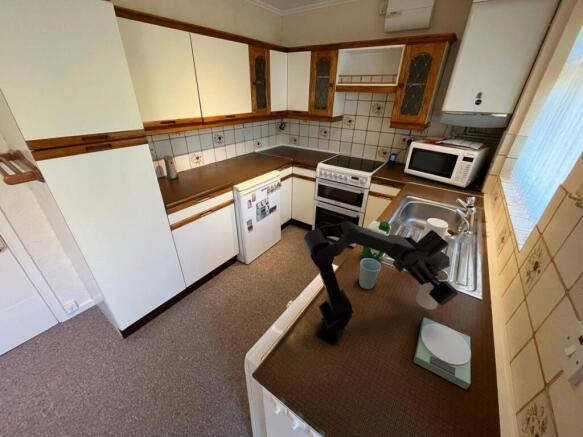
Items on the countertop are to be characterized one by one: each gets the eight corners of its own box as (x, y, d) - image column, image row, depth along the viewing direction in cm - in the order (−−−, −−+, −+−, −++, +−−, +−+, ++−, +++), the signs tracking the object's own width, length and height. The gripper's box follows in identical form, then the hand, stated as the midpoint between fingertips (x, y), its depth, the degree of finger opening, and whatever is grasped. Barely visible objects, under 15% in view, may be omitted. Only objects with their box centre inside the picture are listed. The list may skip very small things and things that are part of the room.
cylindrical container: (430, 279, 99) (451, 228, 87) (412, 276, 100) (430, 226, 88) (426, 268, 105) (444, 219, 93) (408, 266, 106) (424, 217, 94)
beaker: (435, 312, 77) (448, 284, 71) (413, 303, 81) (424, 275, 75) (438, 299, 82) (450, 272, 76) (417, 291, 85) (427, 264, 79)
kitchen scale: (466, 389, 63) (471, 382, 61) (413, 362, 69) (416, 355, 68) (466, 342, 75) (471, 335, 73) (421, 322, 81) (424, 315, 79)
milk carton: (377, 268, 105) (386, 230, 95) (358, 260, 110) (365, 222, 100) (384, 259, 111) (394, 221, 101) (366, 251, 116) (373, 215, 106)
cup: (378, 291, 93) (383, 271, 88) (358, 291, 93) (362, 270, 88) (373, 278, 99) (377, 258, 94) (354, 277, 100) (358, 257, 95)
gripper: (465, 268, 61) (482, 292, 69) (416, 230, 77) (434, 253, 85) (429, 295, 63) (450, 315, 71) (389, 253, 79) (409, 273, 87)
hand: (435, 286), depth 78 cm, fingers closed on beaker, 7 cm apart
